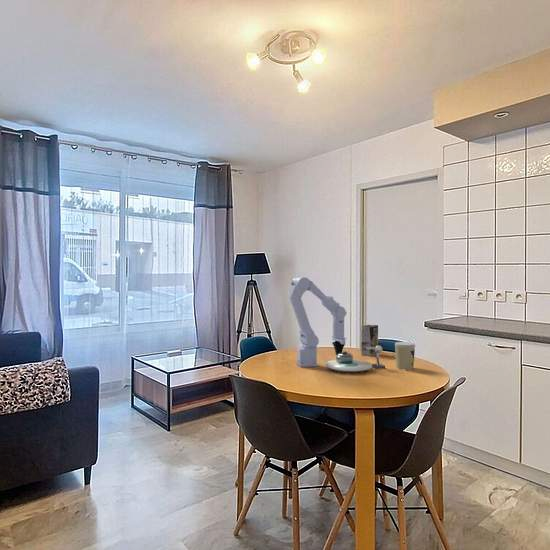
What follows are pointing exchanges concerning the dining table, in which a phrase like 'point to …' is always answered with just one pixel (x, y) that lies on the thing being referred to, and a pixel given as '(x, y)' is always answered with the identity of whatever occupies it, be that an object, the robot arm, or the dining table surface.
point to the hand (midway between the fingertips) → (338, 356)
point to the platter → (349, 365)
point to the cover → (344, 357)
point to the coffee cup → (404, 355)
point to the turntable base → (349, 371)
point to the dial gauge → (378, 350)
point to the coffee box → (369, 339)
